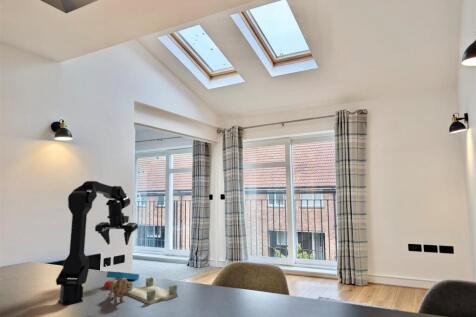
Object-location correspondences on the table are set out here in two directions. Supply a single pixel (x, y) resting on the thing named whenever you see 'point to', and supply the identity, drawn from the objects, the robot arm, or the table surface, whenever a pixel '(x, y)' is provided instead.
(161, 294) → the cradle jig
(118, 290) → the lion figurine
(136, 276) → the lever
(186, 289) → the table surface
